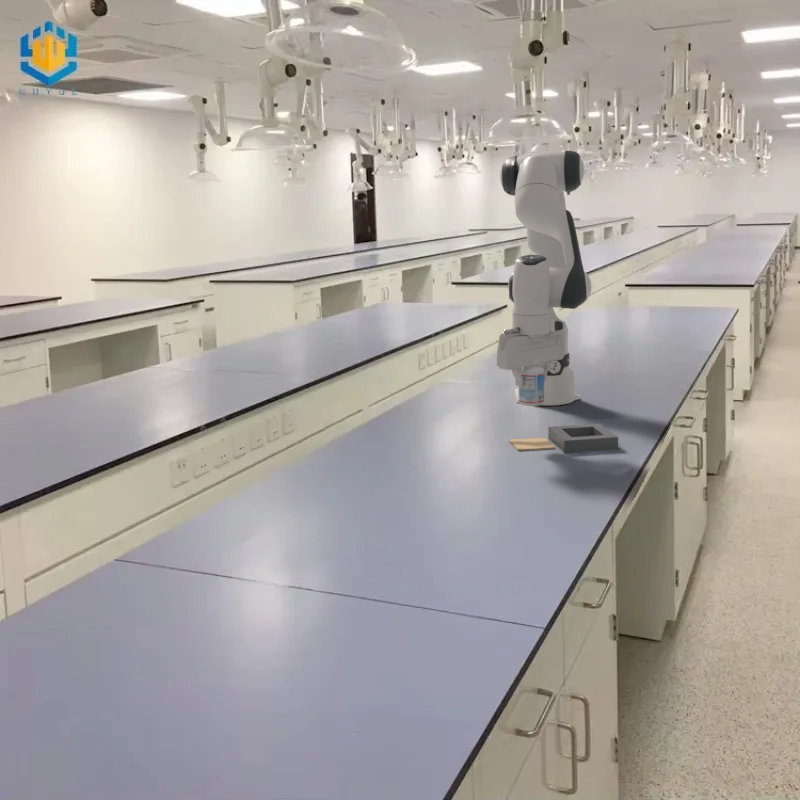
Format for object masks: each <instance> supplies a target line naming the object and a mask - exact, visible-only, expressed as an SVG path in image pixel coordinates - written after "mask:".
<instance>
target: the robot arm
mask: <svg viewBox="0 0 800 800" xmlns="http://www.w3.org/2000/svg"><path fill="white" fill-rule="evenodd" d="M499 173H500V174H499V180H500V184H501V186H502V189H503V191H504V193H506V194H507V195H509V196H514V207H515V208H514V210H515V215H516V218H517V219H518V221H519V222H520V223H521V224H522V225H523V226H525V227H526V236H527V238H526V239H527V246H528V248H529V250H530V251H531V252H532V253H534V254H526V255H522V256H518V258H516V260H515V262H514V268H513V272H512V273H511V275H510V277H509V279H508V287H507V288H508V289H507V290H508V299H509V300H510V301H511V302H512V303H513V308H512V311H511V312H512V328H511V329H504V330H503V332H501V334H500V335H499V341H498V343H497V344H498V345H497V351H496V366H497V367H498V369H500V370H503V371H504V370H506V371H511V373H512V375H513V377H514V378H515V386H518V387H519V386H523V385H525V378H522V375H521V372H522V367H527V366H531V365H533V364H532V363H533V359H538V358H541V362H542V363H541V364H540V366H541V367H542V368H543V369H544V403H543V404H542V405H541V406H560V405H563V406H564V405H566V404H570V403H573V402H574V401H578V400H580V399H581V396H580V394H577V393H576V385H575V384H576V383H575V371H573V370H572V369H571V368H570V367H569V366H570V361H571V357H570V353H569V328H568V326H567V324H566V322H565V321H563V320H562V319H560V318H559V316H558V315H557V314H556V312H555V310H554V308H561V309H571V310H575V309H577V308H579V307H580V306H581V305H583V304H585V303H586V302H587V301H588V299H589V298H590V295H591V292H592V281H591V279H590V276H589V274H588V273H587V272H586V271H584V270H585V269H584V266H583V260H582V256H581V250H580V246H579V245H580V244H579V239H578V235H577V230H576V225H575V221H574V218H573V215H572V213H571V211H570V210H568V209H567V206H566V198H565V192H566V194H567V196H569V195H571V192H574V191H576V190H577V189H578V188H579V187H580V186H581V185H582V181H583V179H584V175H585V166H584V161H583V160H582V157H581V155H580V154H579V153H578V152H577V151H574V150H564V151H560V150H559V151H555V150H553V151H551V150H549V151H547V150H546V151H540V152H533V153H529V154H528V153H527V154H522V155H519V156H518V155H512V156H509V157H506V158H505V160H504V161H503V162H502V166H501V167H500V171H499ZM514 395H515V399H516V403H519V388H515V390H514ZM519 404H520V403H519Z"/></svg>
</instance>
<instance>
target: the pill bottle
mask: <svg viewBox="0 0 800 800" xmlns="http://www.w3.org/2000/svg"><path fill="white" fill-rule="evenodd" d="M541 363H542V362H541V358H538V359H533V363H532V364H533V365H531V366H527V367H522V372H521V375H522V378H525V385H523V386H518V389H519V404H520V405H521V406H526V407H537V406H538V407H539V406H543V405H542V404H543V403H544V369H543V368H542V367H541V366H540V364H541Z"/></svg>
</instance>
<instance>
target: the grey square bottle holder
mask: <svg viewBox="0 0 800 800" xmlns="http://www.w3.org/2000/svg"><path fill="white" fill-rule="evenodd" d="M547 433H548V439H547V440H549V441H551V443H552V444H554V445H555V446H556V447H557V448H558V449H559V450H560V451H561V452H563V454H571V453H584V452H585V453H586V452H599V451H613V450H615V451H616V450H618V449H619V437H618V436H617V435H616V434H615V433H613V432H612V431H610V430H609V429H607V428H606V427H605V426H603V425H602V424H601V423H589V424H587V423H586V424H585V423H583V424H574V425H573V424H572V425H555V426H548V432H547Z"/></svg>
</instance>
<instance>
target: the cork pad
mask: <svg viewBox="0 0 800 800" xmlns="http://www.w3.org/2000/svg"><path fill="white" fill-rule="evenodd" d="M508 442H509V443H510V444H511V445H512V447H514V448H515V450H516V451H517V452H526V451H529V452H530V451H539V450H541V451H542V450H555V449H556V447H555V446H554V445H553V443H552V442H550V440H549V439H547V438H546V437H544V436H543V437H526V438H513V439H511V438H510V439H508Z"/></svg>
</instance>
